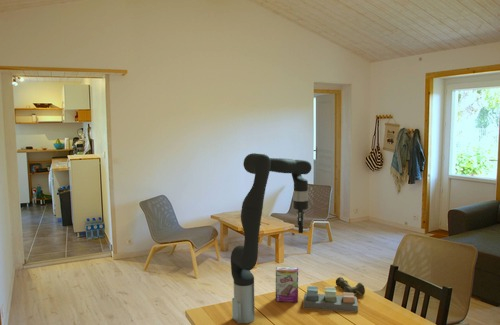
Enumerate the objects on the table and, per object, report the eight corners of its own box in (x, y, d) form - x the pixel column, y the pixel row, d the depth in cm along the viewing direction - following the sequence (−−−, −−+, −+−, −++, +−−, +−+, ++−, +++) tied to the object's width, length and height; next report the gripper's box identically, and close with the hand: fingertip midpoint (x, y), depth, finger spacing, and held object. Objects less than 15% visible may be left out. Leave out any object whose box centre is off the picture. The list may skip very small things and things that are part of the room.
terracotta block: (354, 307, 189) (354, 297, 189) (343, 306, 190) (343, 296, 189) (353, 302, 194) (353, 292, 193) (342, 302, 195) (342, 292, 194)
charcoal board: (357, 312, 186) (357, 305, 186) (303, 308, 191) (303, 302, 191) (356, 302, 196) (356, 296, 196) (304, 299, 201) (304, 293, 201)
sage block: (335, 302, 190) (335, 291, 190) (324, 301, 191) (325, 291, 191) (335, 297, 195) (335, 287, 195) (325, 296, 196) (325, 286, 196)
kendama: (346, 285, 219) (370, 298, 200) (331, 288, 215) (353, 302, 197) (346, 274, 218) (369, 287, 199) (331, 277, 215) (353, 291, 196)
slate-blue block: (317, 300, 192) (317, 290, 191) (307, 300, 193) (307, 290, 192) (317, 296, 197) (317, 286, 196) (307, 295, 198) (307, 285, 197)
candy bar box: (275, 302, 198) (275, 270, 196) (275, 297, 203) (275, 266, 201) (298, 302, 197) (298, 270, 195) (298, 298, 202) (298, 266, 200)
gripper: (307, 202, 196) (307, 236, 198) (308, 197, 209) (308, 229, 211) (292, 201, 197) (292, 236, 199) (294, 196, 210) (294, 229, 212)
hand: (300, 232), depth 205 cm, fingers closed
